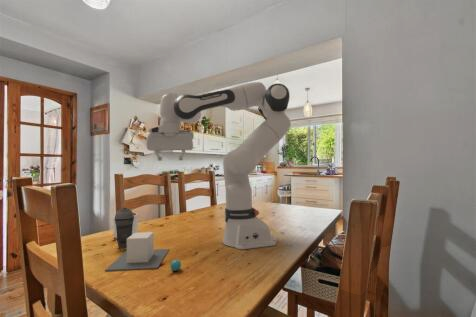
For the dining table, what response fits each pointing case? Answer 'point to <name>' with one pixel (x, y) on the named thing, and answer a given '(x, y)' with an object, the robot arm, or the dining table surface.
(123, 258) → the mat
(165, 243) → the dining table surface
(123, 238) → the beverage cup
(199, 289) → the dining table surface
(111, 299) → the dining table surface
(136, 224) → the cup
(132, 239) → the white upright block
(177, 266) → the marble
